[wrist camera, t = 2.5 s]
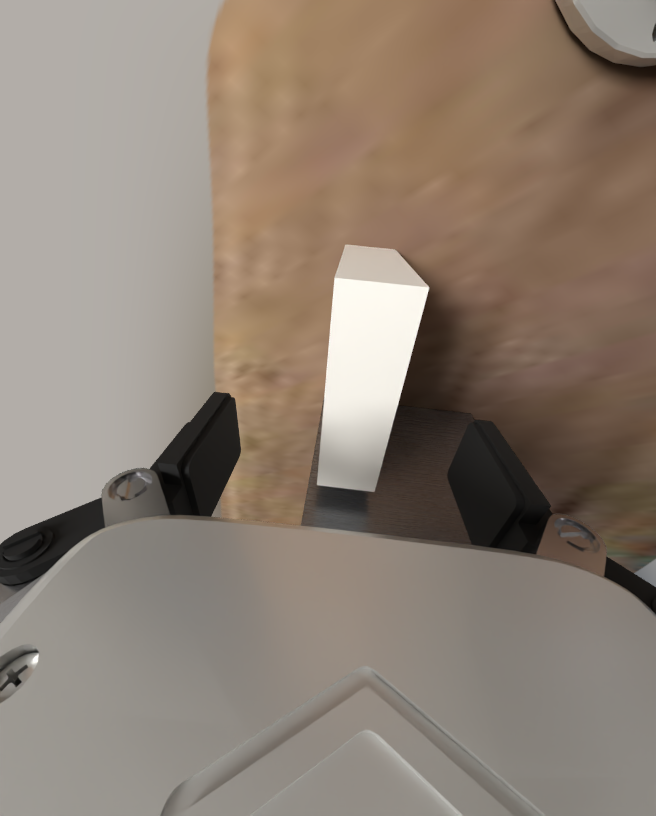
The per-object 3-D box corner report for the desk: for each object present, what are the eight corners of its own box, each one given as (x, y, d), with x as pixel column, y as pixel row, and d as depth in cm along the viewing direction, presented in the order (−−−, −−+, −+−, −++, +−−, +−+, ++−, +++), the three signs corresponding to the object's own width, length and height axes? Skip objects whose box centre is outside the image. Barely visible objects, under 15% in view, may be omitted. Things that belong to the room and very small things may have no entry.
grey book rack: (324, 396, 24) (296, 551, 13) (471, 413, 23) (565, 586, 13) (311, 542, 36) (292, 681, 26) (406, 554, 36) (426, 699, 25)
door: (345, 244, 17) (334, 277, 9) (395, 249, 17) (429, 287, 9) (331, 386, 23) (316, 485, 15) (368, 390, 23) (374, 491, 15)
